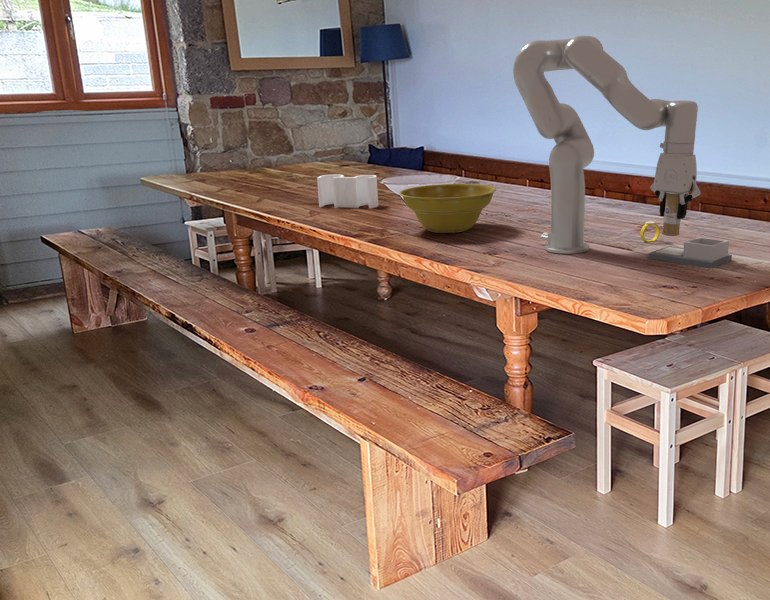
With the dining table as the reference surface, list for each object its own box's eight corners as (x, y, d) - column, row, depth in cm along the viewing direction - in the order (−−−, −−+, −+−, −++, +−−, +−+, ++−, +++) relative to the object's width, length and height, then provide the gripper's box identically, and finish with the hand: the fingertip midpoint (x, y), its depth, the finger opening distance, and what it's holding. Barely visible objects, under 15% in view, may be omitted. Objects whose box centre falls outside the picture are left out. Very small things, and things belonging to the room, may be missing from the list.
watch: (644, 244, 241) (644, 224, 239) (638, 242, 244) (638, 223, 242) (661, 240, 243) (661, 221, 241) (655, 238, 245) (655, 219, 244)
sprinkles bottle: (658, 234, 223) (663, 185, 219) (668, 232, 225) (672, 183, 221) (673, 237, 219) (678, 187, 215) (683, 234, 222) (687, 185, 218)
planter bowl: (428, 218, 296) (427, 181, 292) (511, 223, 279) (511, 184, 276) (383, 236, 269) (381, 195, 266) (471, 242, 253) (470, 199, 249)
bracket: (382, 204, 329) (381, 174, 326) (372, 209, 321) (370, 178, 317) (328, 203, 339) (326, 174, 336) (316, 207, 331) (314, 177, 327)
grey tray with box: (648, 258, 223) (649, 238, 222) (669, 251, 230) (670, 232, 229) (711, 268, 210) (712, 247, 209) (731, 260, 217) (732, 240, 216)
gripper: (642, 147, 219) (637, 214, 225) (701, 152, 207) (694, 223, 212) (657, 145, 224) (651, 210, 229) (716, 150, 212) (708, 219, 217)
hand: (672, 216), depth 221 cm, fingers closed on sprinkles bottle, 4 cm apart
